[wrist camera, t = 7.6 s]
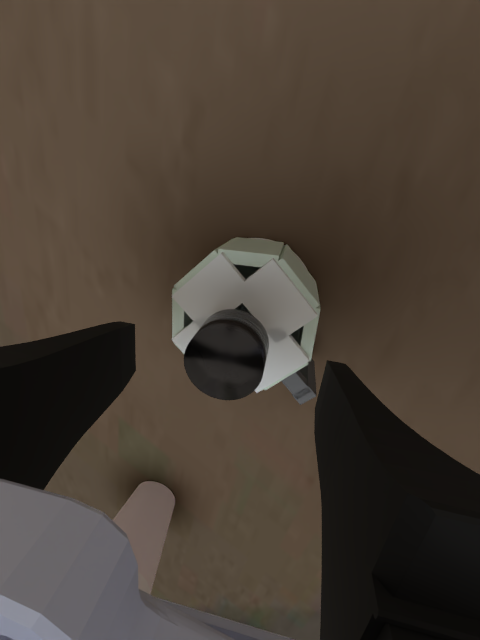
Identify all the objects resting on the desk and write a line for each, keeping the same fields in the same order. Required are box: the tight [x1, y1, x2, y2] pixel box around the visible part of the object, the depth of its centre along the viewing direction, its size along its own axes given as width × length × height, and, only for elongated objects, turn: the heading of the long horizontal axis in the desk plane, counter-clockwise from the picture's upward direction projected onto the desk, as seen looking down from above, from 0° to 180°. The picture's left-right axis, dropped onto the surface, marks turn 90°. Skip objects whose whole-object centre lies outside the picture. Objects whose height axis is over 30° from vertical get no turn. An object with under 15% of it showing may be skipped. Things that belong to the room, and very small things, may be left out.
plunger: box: [184, 264, 269, 400], centre depth 15 cm, size 5×5×8 cm
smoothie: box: [112, 481, 175, 594], centre depth 22 cm, size 6×6×14 cm
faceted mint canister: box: [172, 237, 320, 405], centre depth 17 cm, size 9×7×5 cm
